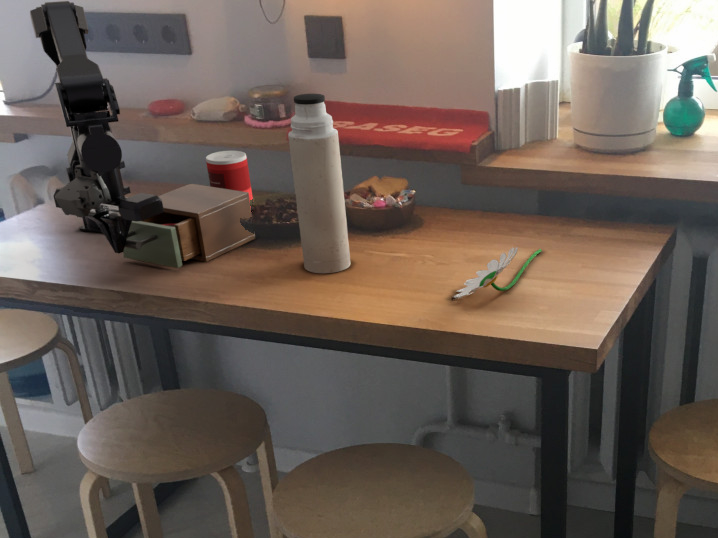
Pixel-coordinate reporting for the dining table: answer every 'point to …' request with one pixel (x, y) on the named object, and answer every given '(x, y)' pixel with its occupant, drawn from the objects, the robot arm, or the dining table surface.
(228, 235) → the cabinet
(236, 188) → the canned food
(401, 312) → the dining table surface
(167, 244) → the drawer
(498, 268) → the flower
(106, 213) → the robot arm
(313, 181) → the thermos bottle
